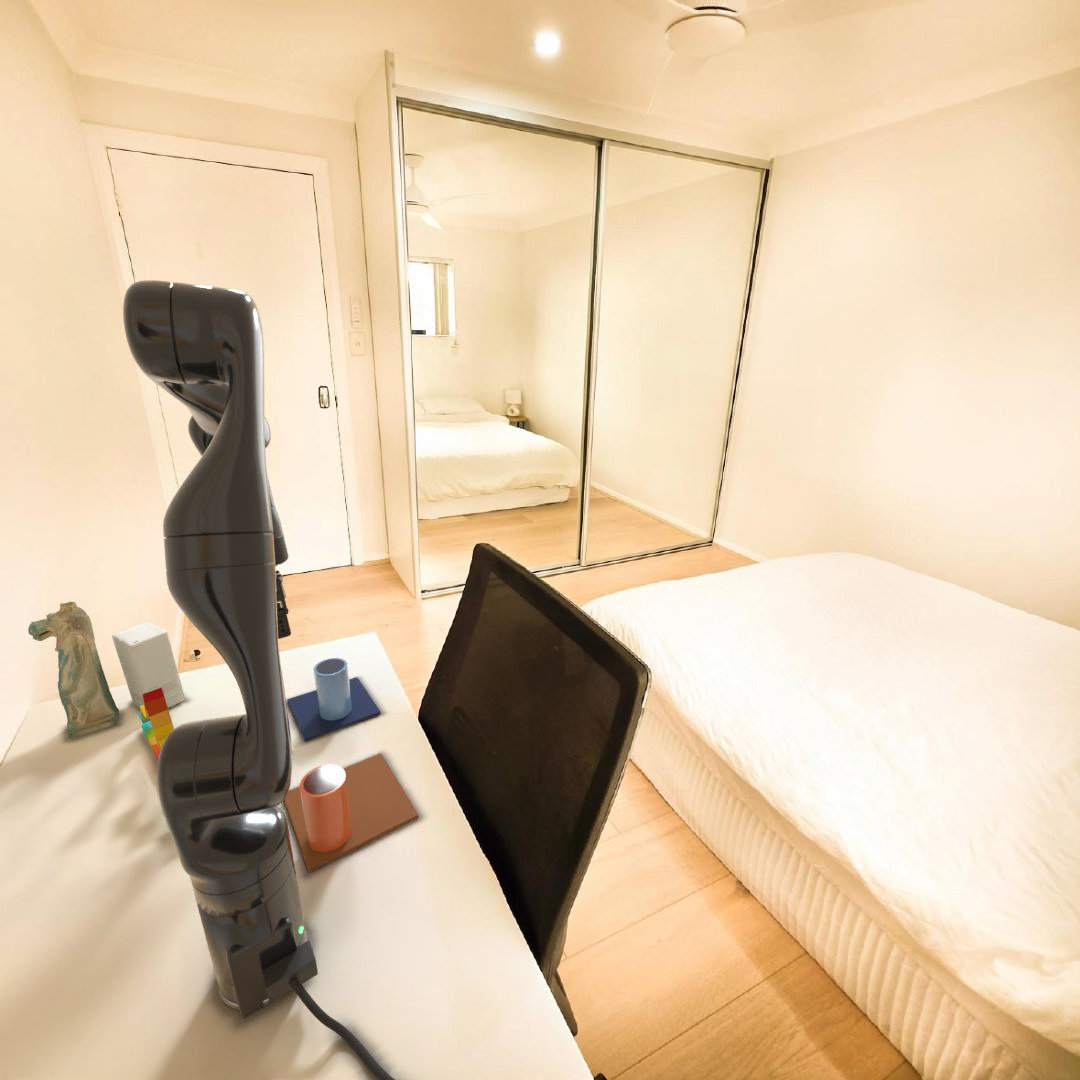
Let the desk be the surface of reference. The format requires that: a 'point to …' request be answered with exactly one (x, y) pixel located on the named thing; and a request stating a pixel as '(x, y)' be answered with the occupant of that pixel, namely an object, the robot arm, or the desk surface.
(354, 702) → the navy mat
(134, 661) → the cosmetic box
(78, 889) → the desk surface
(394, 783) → the brown mat
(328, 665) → the blue tumbler
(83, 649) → the statue
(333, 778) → the terracotta tumbler
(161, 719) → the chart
